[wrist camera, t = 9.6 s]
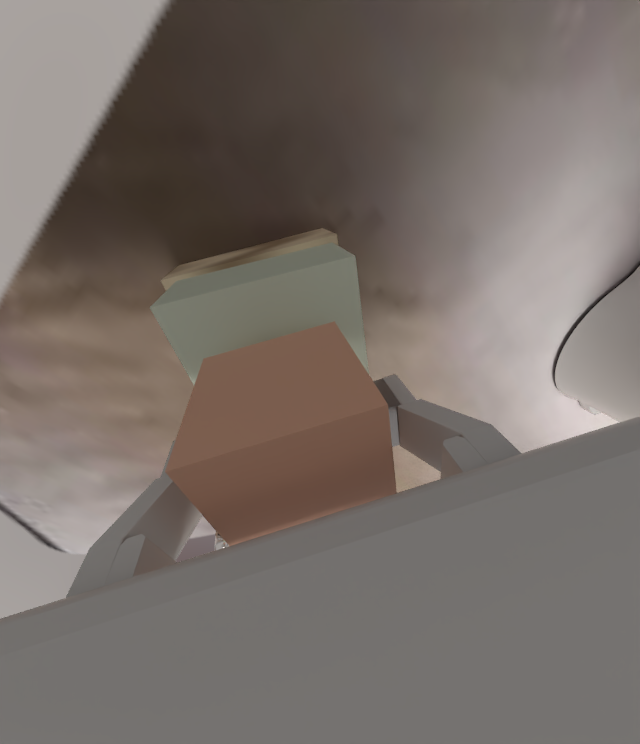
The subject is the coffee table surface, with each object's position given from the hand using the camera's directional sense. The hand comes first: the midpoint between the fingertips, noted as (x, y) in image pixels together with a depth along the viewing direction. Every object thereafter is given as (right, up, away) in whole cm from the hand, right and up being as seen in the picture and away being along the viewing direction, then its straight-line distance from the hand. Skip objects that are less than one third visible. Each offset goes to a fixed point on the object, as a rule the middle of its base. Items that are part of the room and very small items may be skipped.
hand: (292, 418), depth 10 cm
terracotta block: (0, +1, +1) cm, 2 cm away
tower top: (-1, +4, +6) cm, 7 cm away
